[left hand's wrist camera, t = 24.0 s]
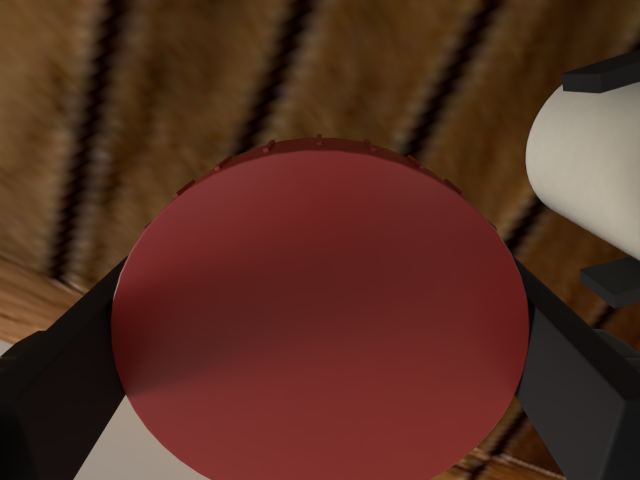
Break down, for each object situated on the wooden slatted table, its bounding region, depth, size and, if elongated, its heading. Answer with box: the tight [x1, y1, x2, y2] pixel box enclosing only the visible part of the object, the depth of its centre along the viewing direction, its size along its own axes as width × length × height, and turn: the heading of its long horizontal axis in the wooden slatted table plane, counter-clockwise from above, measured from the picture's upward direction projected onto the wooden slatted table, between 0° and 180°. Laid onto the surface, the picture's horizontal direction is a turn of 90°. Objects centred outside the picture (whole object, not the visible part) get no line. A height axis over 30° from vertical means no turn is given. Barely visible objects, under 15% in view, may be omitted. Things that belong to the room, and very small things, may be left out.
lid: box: [111, 134, 530, 480], centre depth 11 cm, size 10×10×2 cm
